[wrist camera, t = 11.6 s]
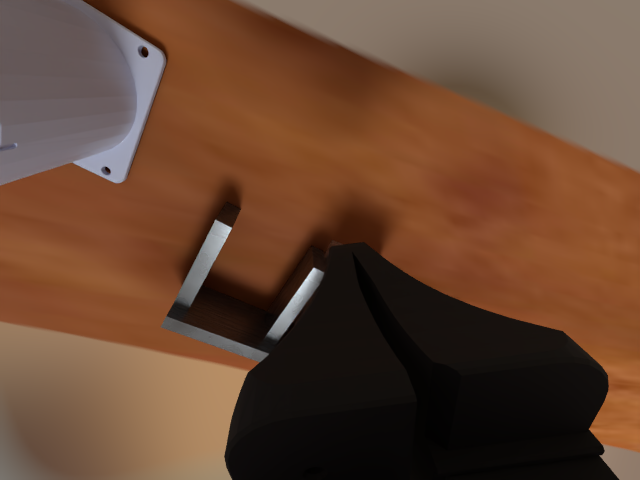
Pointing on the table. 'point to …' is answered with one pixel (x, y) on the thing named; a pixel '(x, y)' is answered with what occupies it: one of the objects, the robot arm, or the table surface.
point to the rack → (236, 316)
